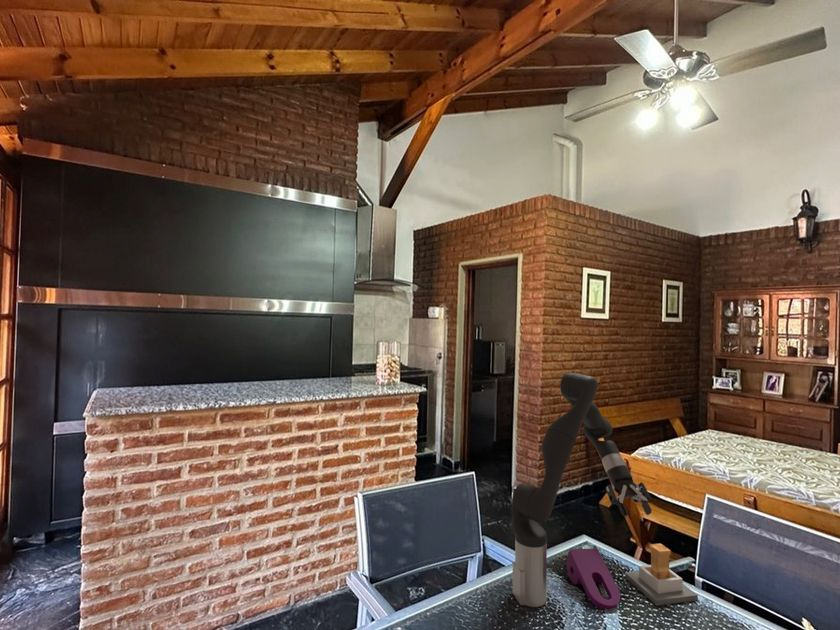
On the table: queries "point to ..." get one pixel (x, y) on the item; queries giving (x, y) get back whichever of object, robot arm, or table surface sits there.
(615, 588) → the mounting bracket
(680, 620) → the table surface
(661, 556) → the locking wedge
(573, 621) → the table surface
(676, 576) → the socket plate
